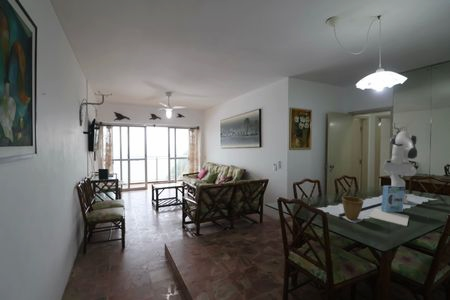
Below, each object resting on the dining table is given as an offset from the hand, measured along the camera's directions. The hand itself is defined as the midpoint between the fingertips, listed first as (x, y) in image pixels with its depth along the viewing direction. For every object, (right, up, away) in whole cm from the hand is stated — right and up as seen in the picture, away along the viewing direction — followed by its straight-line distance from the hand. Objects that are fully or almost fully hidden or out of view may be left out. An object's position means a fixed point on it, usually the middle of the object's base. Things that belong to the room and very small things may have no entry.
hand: (395, 176), depth 195 cm
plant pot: (-54, -32, -22) cm, 66 cm away
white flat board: (-19, -32, -16) cm, 40 cm away
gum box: (-7, -31, -3) cm, 32 cm away
